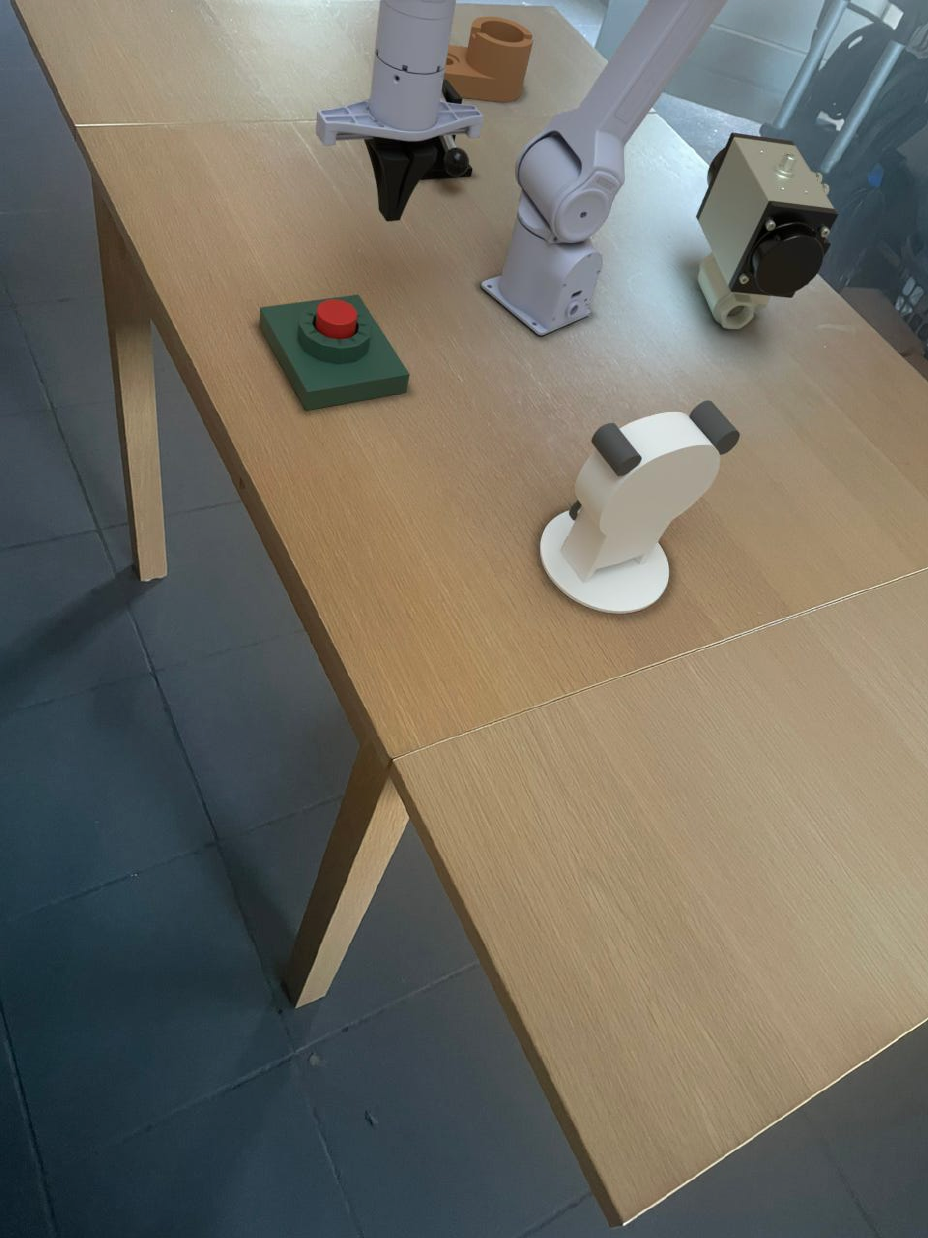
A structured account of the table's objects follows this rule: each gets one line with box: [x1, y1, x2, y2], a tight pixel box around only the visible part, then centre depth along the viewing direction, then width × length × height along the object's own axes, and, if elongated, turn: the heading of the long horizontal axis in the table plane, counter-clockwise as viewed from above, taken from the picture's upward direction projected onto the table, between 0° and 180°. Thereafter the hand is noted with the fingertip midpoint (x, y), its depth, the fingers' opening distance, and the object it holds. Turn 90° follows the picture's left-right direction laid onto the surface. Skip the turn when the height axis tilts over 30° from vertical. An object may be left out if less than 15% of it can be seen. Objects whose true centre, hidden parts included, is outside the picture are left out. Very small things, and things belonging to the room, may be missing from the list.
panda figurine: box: [539, 399, 741, 615], centre depth 73 cm, size 12×11×15 cm
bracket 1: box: [420, 80, 474, 180], centre depth 109 cm, size 10×8×8 cm
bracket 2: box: [443, 16, 534, 103], centre depth 122 cm, size 18×8×7 cm, turn 101°
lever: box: [439, 90, 470, 178], centre depth 106 cm, size 11×3×3 cm, turn 26°
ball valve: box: [695, 132, 839, 330], centre depth 98 cm, size 18×8×18 cm, turn 7°
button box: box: [259, 294, 410, 411], centre depth 85 cm, size 12×10×4 cm
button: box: [316, 300, 357, 340], centre depth 83 cm, size 4×4×2 cm
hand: (389, 214), depth 84 cm, fingers closed
